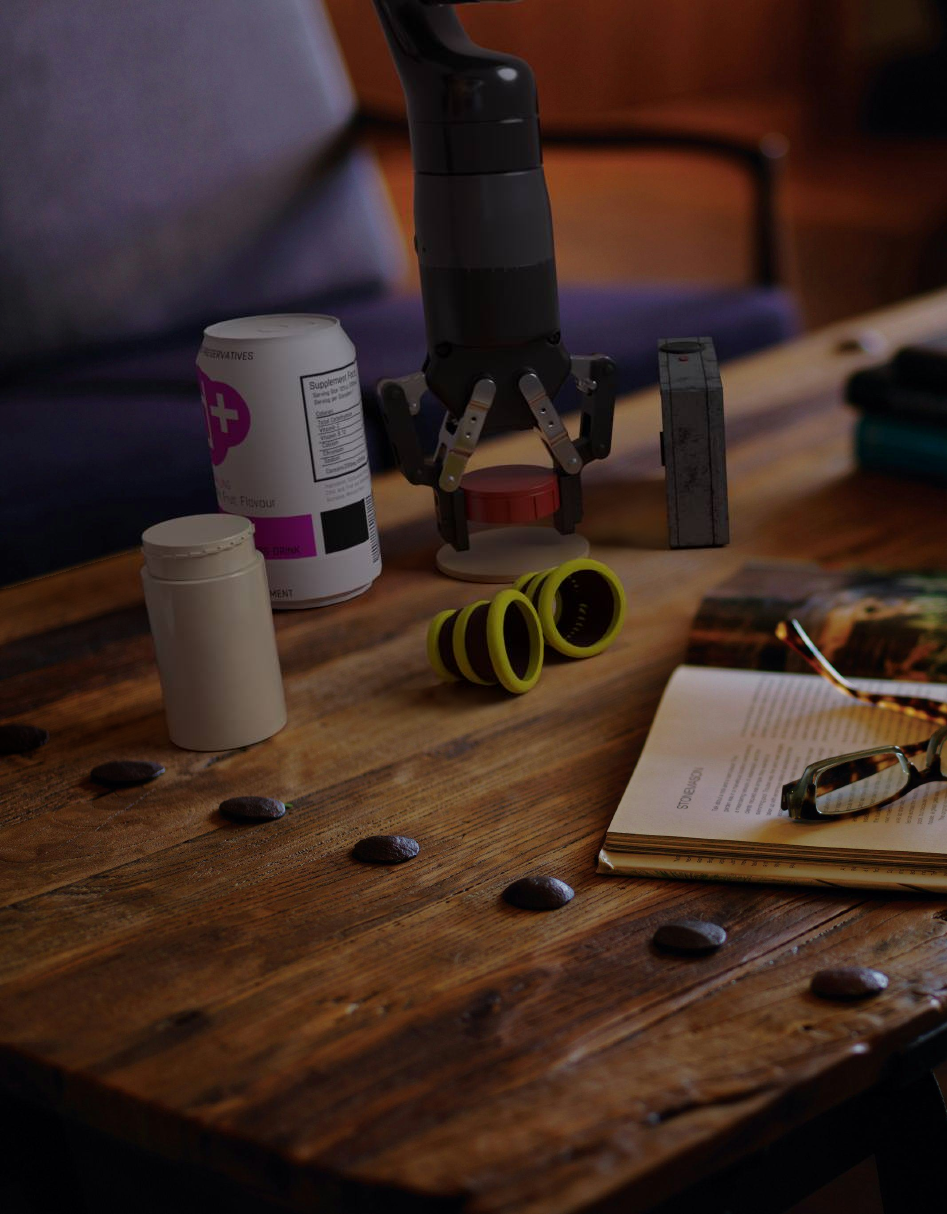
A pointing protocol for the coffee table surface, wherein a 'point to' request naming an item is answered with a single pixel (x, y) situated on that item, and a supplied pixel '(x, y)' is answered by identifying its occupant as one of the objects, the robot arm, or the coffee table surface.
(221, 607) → the jar
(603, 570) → the opera glasses
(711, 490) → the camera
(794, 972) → the coffee table surface
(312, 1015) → the coffee table surface
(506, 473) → the jar lid
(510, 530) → the coaster
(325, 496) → the supplement can
